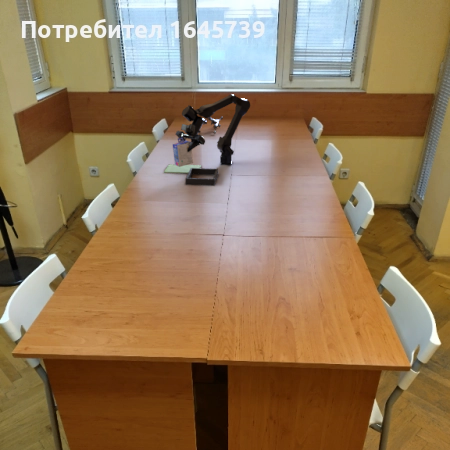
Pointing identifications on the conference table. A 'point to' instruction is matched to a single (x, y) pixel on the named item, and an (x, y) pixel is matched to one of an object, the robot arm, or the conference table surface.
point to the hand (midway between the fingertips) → (183, 150)
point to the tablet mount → (214, 122)
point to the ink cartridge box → (182, 153)
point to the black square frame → (201, 180)
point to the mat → (180, 168)
